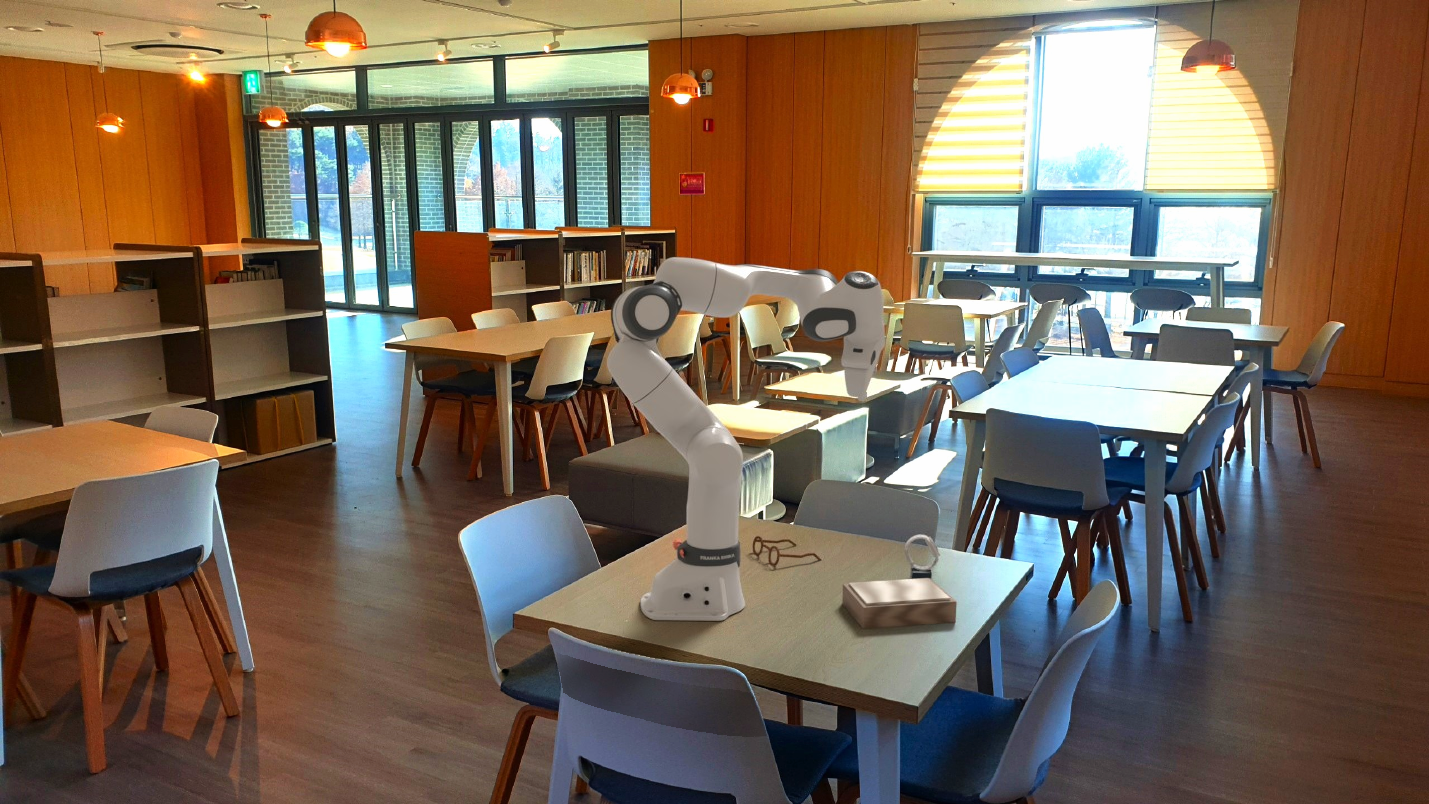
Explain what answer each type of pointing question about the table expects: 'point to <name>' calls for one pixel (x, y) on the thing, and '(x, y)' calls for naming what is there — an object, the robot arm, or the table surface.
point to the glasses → (777, 549)
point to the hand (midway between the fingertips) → (867, 386)
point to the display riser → (898, 603)
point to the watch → (922, 570)
